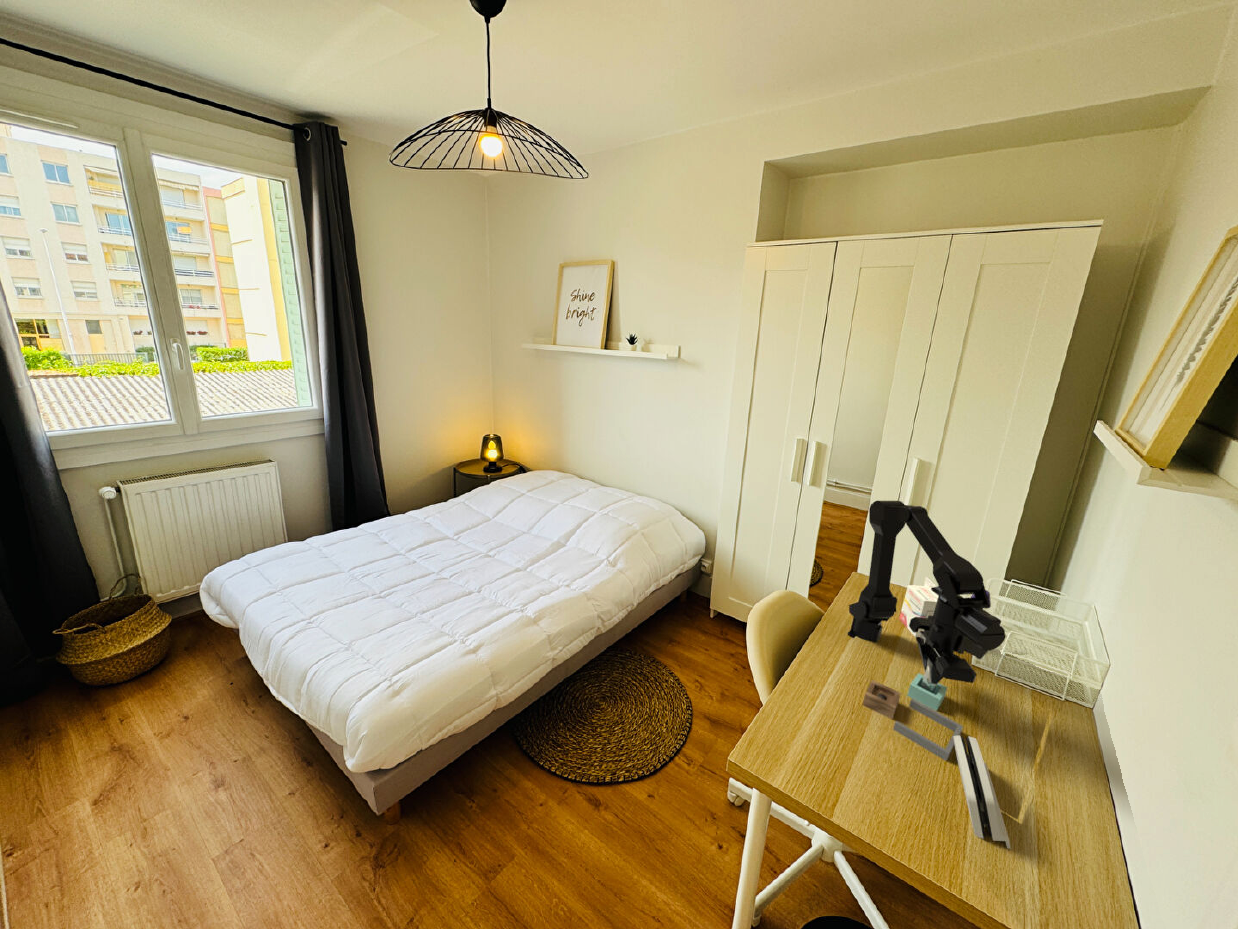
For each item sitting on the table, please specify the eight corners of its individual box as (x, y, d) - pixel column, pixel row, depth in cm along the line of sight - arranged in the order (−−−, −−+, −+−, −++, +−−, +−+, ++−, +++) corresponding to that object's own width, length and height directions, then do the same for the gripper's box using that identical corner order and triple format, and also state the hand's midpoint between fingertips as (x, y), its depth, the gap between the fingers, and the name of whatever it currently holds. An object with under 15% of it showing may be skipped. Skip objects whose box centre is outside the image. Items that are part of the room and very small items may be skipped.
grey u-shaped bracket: (892, 732, 101) (895, 722, 100) (909, 707, 108) (912, 698, 107) (945, 764, 94) (948, 754, 93) (960, 735, 101) (963, 726, 100)
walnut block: (861, 708, 107) (865, 693, 106) (868, 693, 112) (871, 679, 110) (891, 723, 104) (895, 708, 102) (896, 707, 108) (900, 693, 107)
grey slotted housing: (1011, 851, 79) (1002, 799, 77) (976, 845, 81) (967, 794, 80) (987, 770, 93) (979, 725, 92) (958, 767, 95) (950, 723, 94)
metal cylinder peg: (915, 694, 110) (925, 662, 108) (920, 688, 112) (930, 656, 110) (931, 702, 108) (941, 670, 105) (935, 696, 110) (946, 663, 108)
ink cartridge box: (897, 619, 141) (909, 575, 137) (914, 619, 141) (926, 575, 137) (914, 637, 133) (927, 591, 129) (932, 638, 133) (945, 592, 129)
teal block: (906, 698, 111) (910, 684, 110) (914, 686, 115) (918, 673, 113) (935, 714, 107) (940, 700, 105) (943, 701, 110) (947, 687, 109)
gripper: (1014, 653, 94) (992, 717, 99) (967, 602, 112) (950, 657, 116) (953, 644, 96) (934, 706, 101) (916, 594, 114) (901, 649, 118)
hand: (930, 678), depth 109 cm, fingers closed on metal cylinder peg, 3 cm apart
